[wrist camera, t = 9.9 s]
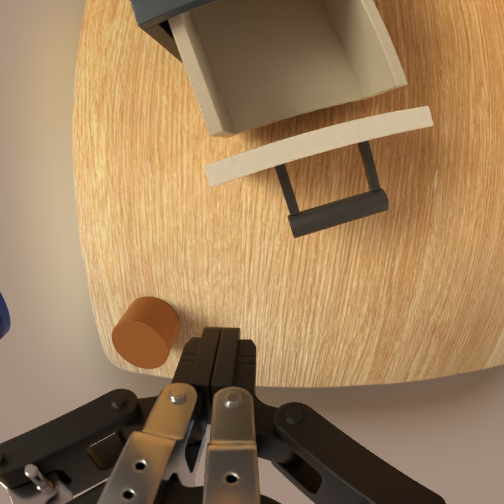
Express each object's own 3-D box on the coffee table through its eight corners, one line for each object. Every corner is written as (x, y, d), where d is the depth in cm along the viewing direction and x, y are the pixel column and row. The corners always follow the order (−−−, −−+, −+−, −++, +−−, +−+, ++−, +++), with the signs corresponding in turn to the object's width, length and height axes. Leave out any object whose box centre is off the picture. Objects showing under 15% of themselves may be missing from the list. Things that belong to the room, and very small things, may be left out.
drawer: (399, 186, 23) (449, 207, 15) (249, 230, 25) (242, 271, 17) (322, -23, 16) (341, -73, 9) (172, 17, 18) (137, -24, 11)
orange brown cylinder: (144, 345, 31) (130, 371, 26) (119, 303, 29) (101, 326, 25) (188, 336, 30) (178, 364, 26) (164, 290, 28) (150, 314, 24)
